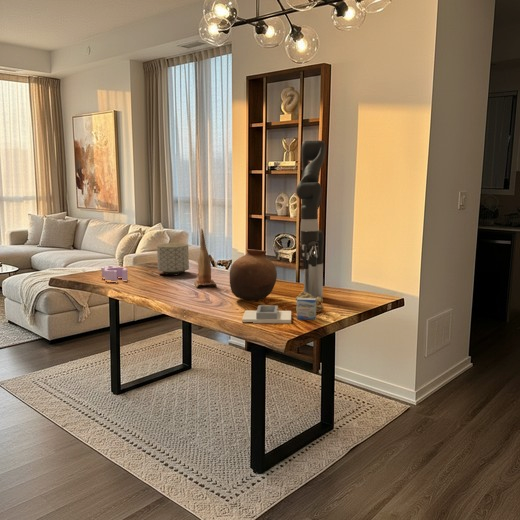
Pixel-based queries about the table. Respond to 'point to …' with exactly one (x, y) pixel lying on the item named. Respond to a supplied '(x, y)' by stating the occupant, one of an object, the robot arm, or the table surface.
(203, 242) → the brown spire tower
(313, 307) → the medicine box
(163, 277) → the table surface
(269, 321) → the holder
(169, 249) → the planter
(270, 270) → the pottery
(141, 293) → the table surface
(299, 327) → the table surface
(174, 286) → the table surface
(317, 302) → the mineral formation
